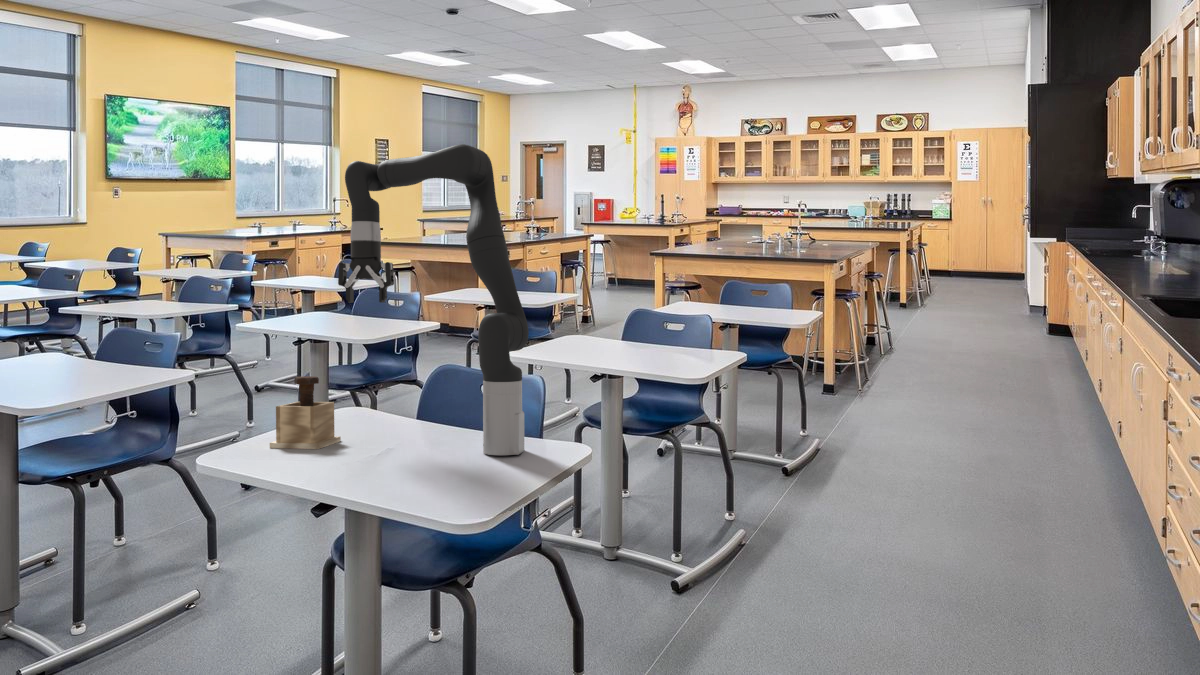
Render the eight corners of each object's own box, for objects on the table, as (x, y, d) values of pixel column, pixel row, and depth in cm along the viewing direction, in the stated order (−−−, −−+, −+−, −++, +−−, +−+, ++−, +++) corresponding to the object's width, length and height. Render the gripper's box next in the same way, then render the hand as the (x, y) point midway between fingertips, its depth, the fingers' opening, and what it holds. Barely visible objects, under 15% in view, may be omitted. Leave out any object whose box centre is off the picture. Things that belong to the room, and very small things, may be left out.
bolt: (304, 441, 204) (304, 378, 203) (290, 440, 206) (289, 377, 206) (323, 438, 209) (323, 376, 208) (309, 437, 211) (308, 375, 211)
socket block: (340, 441, 212) (340, 401, 212) (318, 449, 201) (317, 407, 200) (294, 440, 214) (294, 401, 214) (269, 448, 202) (269, 406, 202)
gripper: (397, 241, 227) (397, 302, 228) (345, 241, 229) (346, 302, 230) (386, 238, 220) (387, 302, 220) (333, 239, 222) (334, 302, 222)
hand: (366, 302), depth 225 cm, fingers open, 8 cm apart
